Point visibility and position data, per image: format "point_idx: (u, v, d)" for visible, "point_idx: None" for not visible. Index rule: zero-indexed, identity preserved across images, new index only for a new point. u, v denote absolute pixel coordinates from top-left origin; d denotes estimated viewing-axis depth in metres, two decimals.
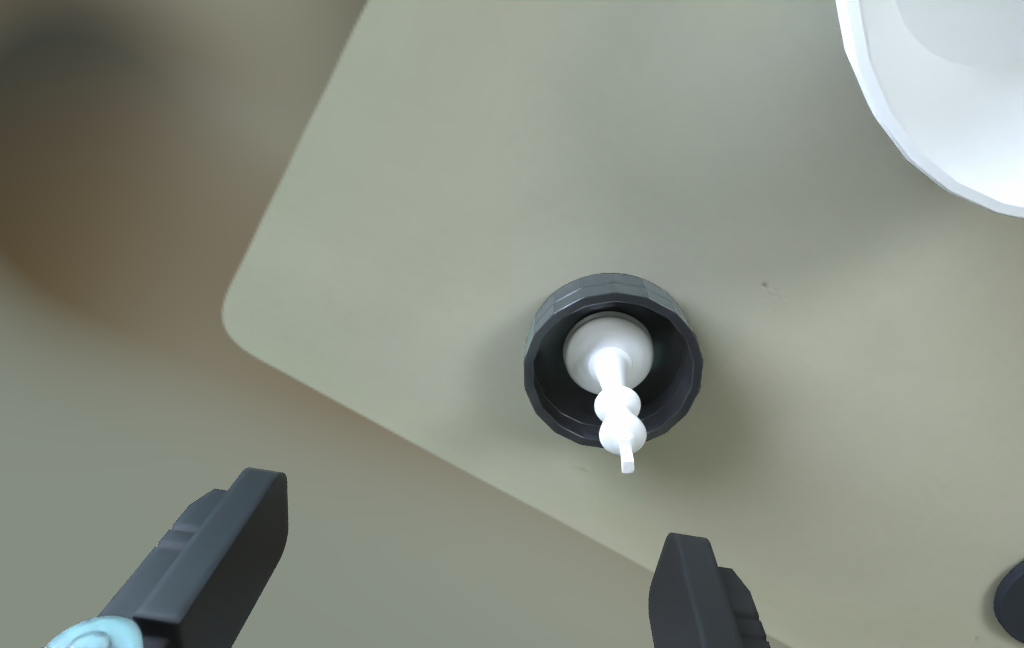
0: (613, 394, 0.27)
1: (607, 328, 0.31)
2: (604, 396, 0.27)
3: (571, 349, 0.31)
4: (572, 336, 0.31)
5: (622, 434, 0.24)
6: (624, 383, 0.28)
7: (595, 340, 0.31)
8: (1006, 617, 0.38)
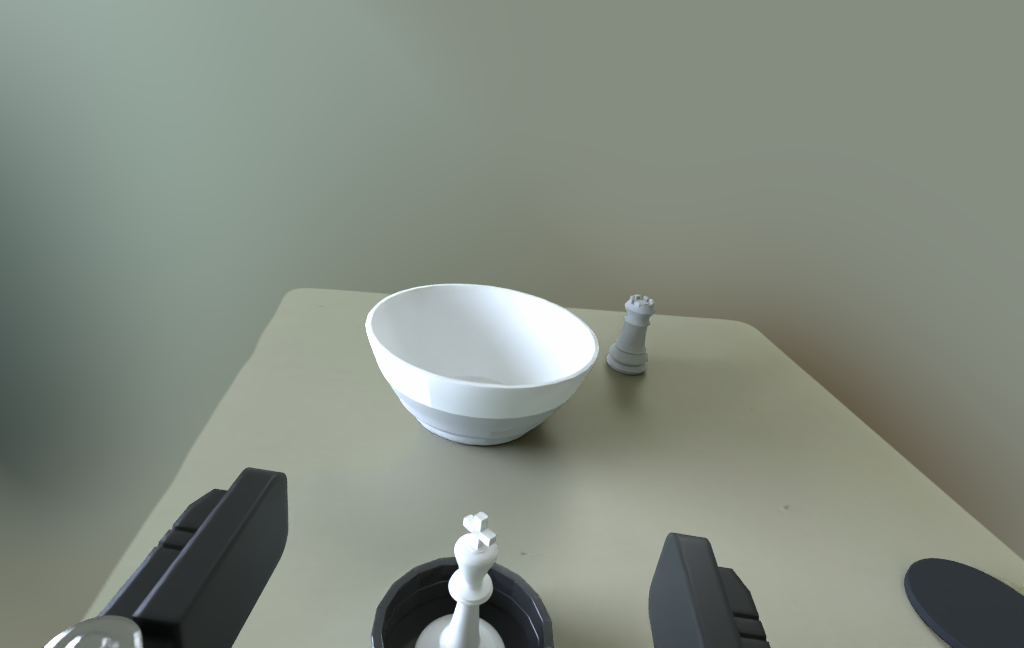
0: (457, 573, 0.28)
1: (437, 624, 0.31)
2: (452, 578, 0.28)
3: None
4: None
5: None
6: None
7: (435, 638, 0.30)
8: None
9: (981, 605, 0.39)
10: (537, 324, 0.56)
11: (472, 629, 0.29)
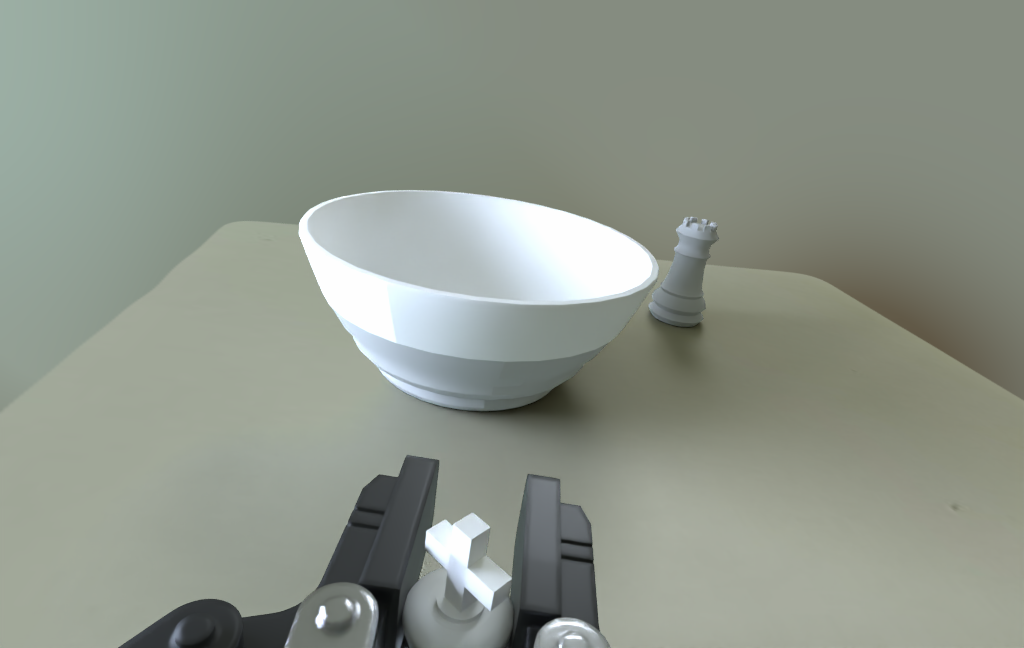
0: None
1: None
2: None
3: None
4: None
5: None
6: None
7: None
8: None
9: None
10: (559, 247, 0.40)
11: None
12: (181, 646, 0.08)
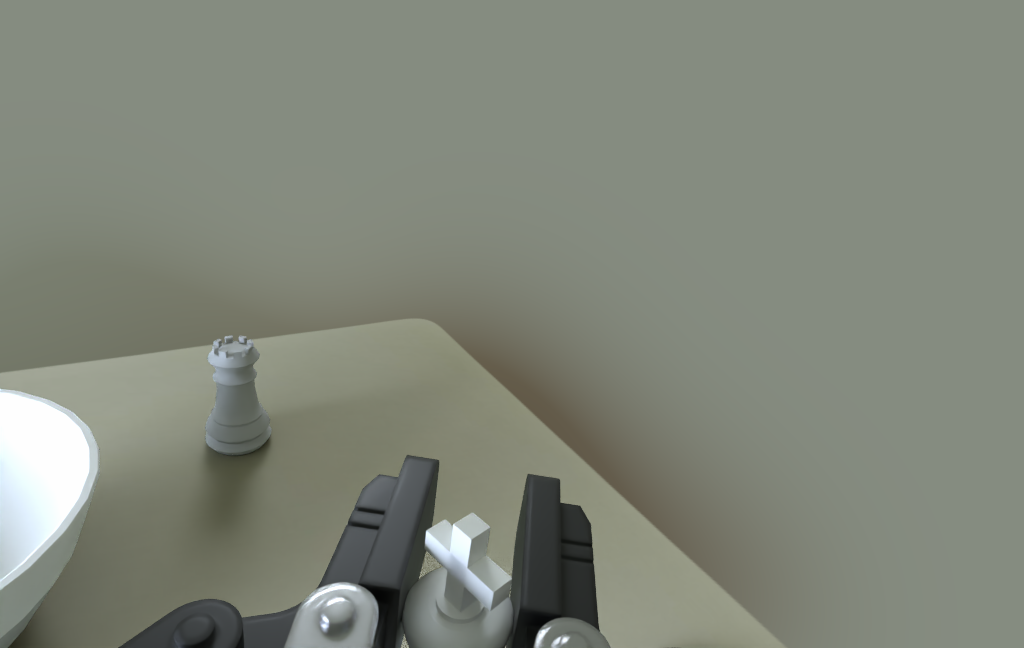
0: None
1: None
2: None
3: None
4: None
5: None
6: None
7: None
8: None
9: None
10: (16, 439, 0.32)
11: None
12: (182, 645, 0.08)
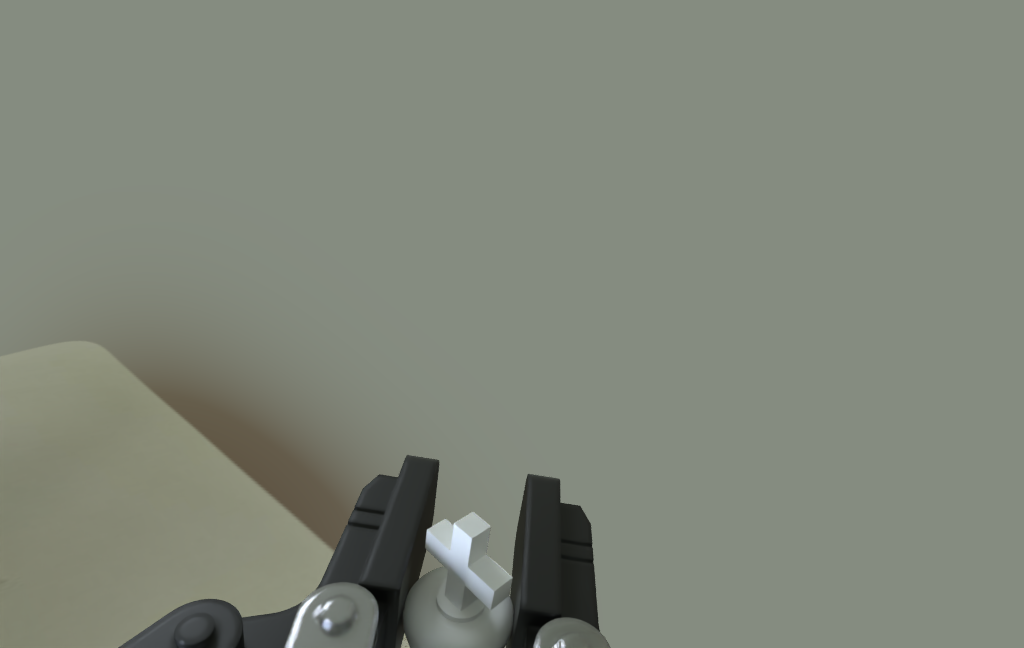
0: None
1: None
2: None
3: None
4: None
5: None
6: None
7: None
8: None
9: None
10: None
11: None
12: (182, 646, 0.08)
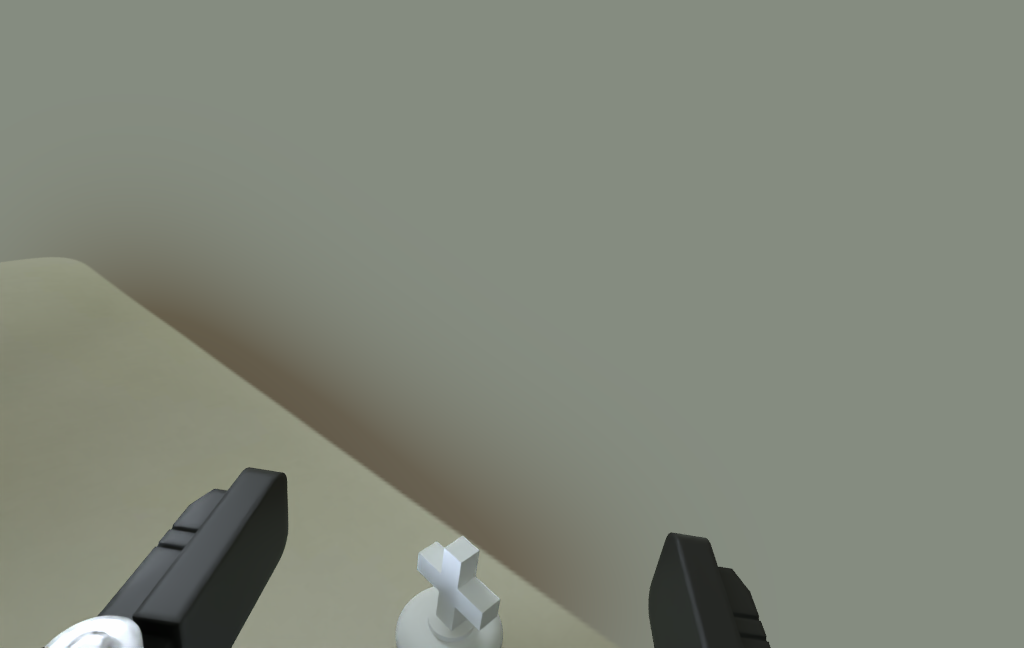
0: None
1: None
2: None
3: None
4: None
5: None
6: None
7: None
8: None
9: None
10: None
11: None
12: None
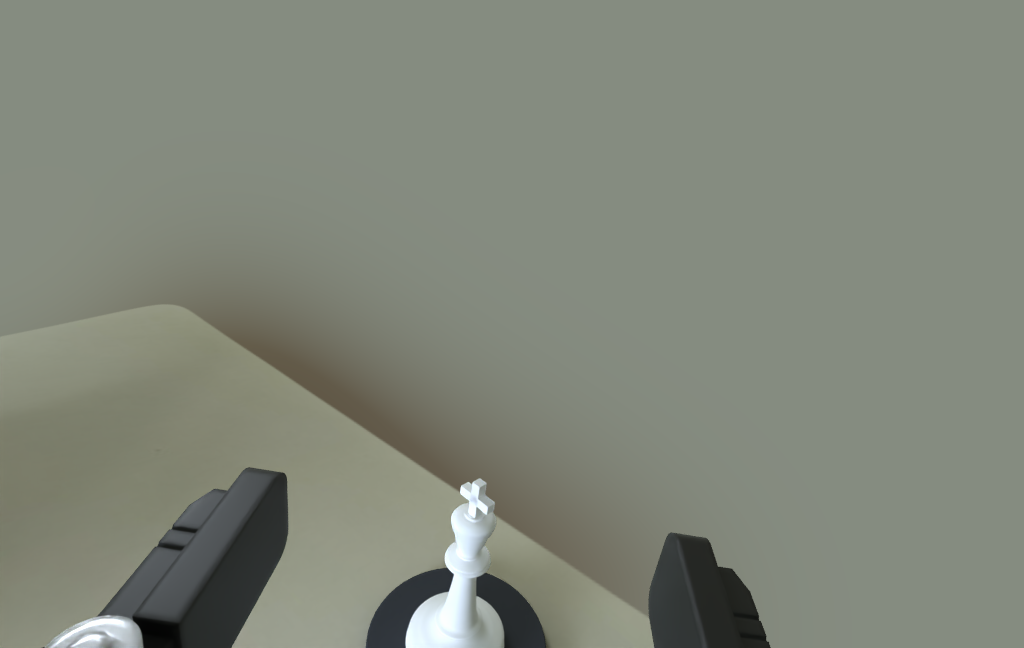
0: (454, 545, 0.27)
1: (433, 602, 0.30)
2: (448, 550, 0.27)
3: (416, 641, 0.28)
4: (408, 632, 0.28)
5: None
6: None
7: (430, 615, 0.29)
8: None
9: None
10: None
11: (469, 604, 0.27)
12: None
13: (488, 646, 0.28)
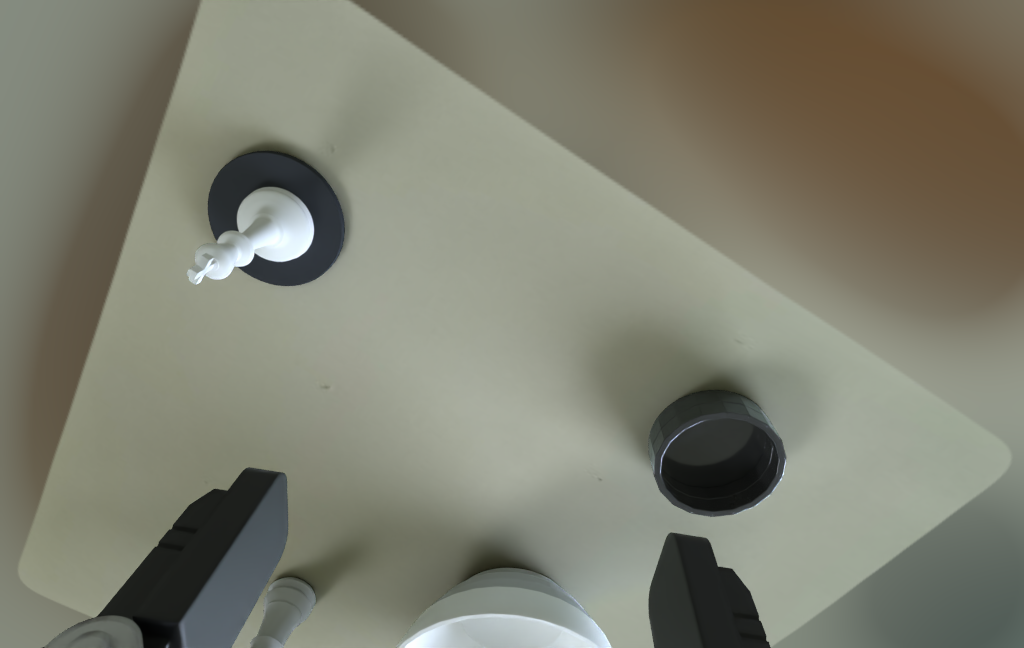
0: None
1: (257, 249, 0.38)
2: (236, 265, 0.34)
3: (292, 254, 0.38)
4: (287, 260, 0.39)
5: None
6: None
7: (269, 249, 0.38)
8: (326, 195, 0.38)
9: None
10: None
11: (261, 231, 0.35)
12: None
13: (277, 203, 0.37)
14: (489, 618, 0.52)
